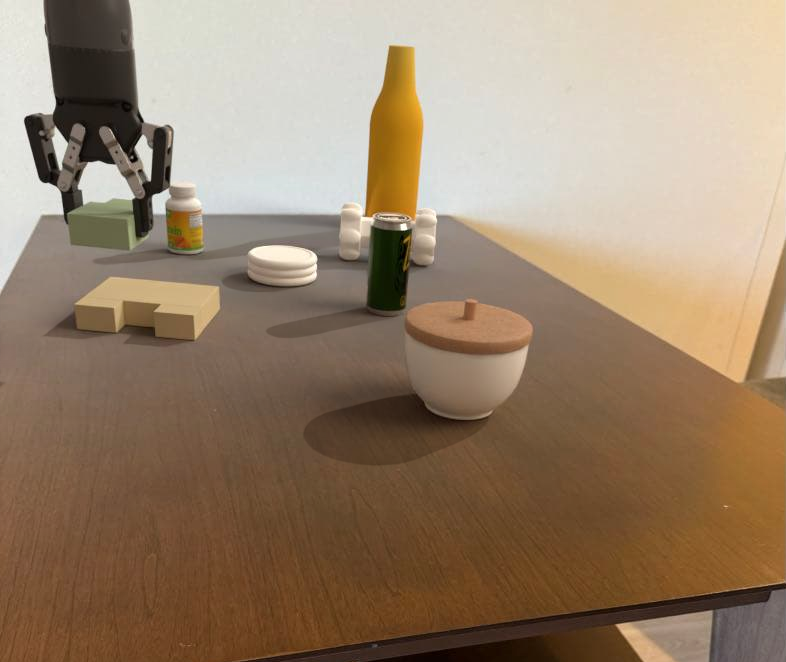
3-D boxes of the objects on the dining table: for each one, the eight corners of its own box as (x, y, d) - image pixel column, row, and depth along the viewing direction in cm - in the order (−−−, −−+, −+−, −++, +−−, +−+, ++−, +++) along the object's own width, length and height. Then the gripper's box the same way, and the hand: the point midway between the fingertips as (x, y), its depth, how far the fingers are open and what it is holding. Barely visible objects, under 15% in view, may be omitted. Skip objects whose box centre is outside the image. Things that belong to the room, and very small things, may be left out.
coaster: (258, 289, 118) (258, 263, 116) (239, 269, 126) (238, 245, 124) (326, 285, 122) (327, 260, 120) (303, 267, 129) (304, 243, 127)
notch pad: (77, 329, 100) (73, 304, 98) (112, 299, 110) (110, 276, 108) (195, 340, 99) (193, 315, 98) (220, 309, 109) (219, 286, 108)
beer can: (366, 315, 112) (371, 220, 105) (365, 303, 116) (370, 211, 110) (406, 317, 112) (414, 223, 106) (404, 305, 117) (412, 213, 110)
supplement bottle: (160, 250, 132) (155, 183, 127) (186, 244, 136) (182, 179, 130) (185, 257, 129) (181, 189, 124) (210, 251, 133) (208, 185, 128)
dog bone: (431, 257, 140) (436, 205, 136) (433, 271, 133) (438, 216, 128) (340, 250, 139) (342, 198, 135) (337, 264, 132) (339, 209, 128)
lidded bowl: (515, 439, 82) (534, 328, 77) (388, 421, 84) (396, 311, 78) (522, 391, 93) (538, 291, 87) (408, 376, 94) (417, 276, 89)
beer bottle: (353, 227, 154) (361, 42, 138) (391, 223, 159) (403, 44, 144) (387, 239, 148) (400, 48, 133) (425, 233, 154) (441, 49, 138)
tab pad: (130, 250, 84) (127, 219, 82) (70, 244, 84) (66, 213, 82) (157, 231, 91) (154, 202, 90) (102, 226, 91) (99, 196, 90)
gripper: (181, 47, 80) (190, 231, 89) (31, 33, 81) (55, 218, 90) (156, 50, 74) (168, 248, 83) (-7, 35, 74) (24, 234, 83)
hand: (110, 232), depth 86 cm, fingers closed on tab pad, 6 cm apart
